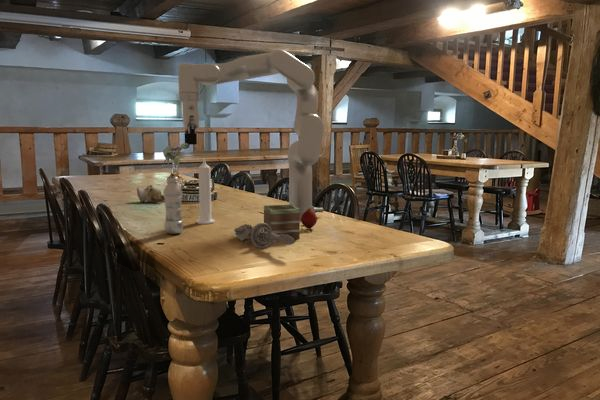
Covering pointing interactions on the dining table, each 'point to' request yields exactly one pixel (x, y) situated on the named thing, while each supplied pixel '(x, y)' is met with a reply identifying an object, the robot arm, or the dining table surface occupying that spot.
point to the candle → (205, 194)
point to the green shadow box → (283, 220)
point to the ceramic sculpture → (150, 194)
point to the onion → (309, 218)
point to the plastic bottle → (173, 206)
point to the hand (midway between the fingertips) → (190, 143)
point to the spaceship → (261, 235)
